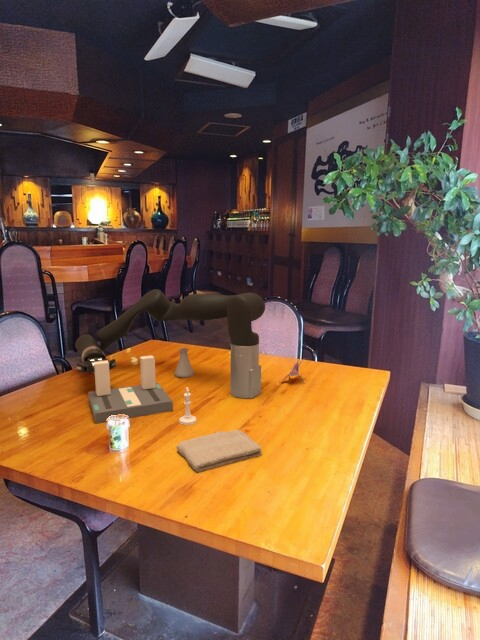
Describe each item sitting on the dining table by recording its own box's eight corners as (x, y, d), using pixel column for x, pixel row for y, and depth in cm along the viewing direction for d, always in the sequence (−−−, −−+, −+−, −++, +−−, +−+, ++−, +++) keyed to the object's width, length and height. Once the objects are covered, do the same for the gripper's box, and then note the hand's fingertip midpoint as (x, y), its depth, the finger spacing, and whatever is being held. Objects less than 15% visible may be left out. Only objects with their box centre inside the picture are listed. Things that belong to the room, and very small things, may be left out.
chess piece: (182, 426, 118) (181, 391, 116) (176, 419, 122) (175, 386, 121) (199, 422, 120) (198, 388, 118) (192, 416, 125) (192, 383, 123)
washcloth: (264, 456, 103) (264, 444, 103) (195, 476, 95) (195, 463, 94) (240, 436, 113) (240, 425, 113) (176, 452, 105) (175, 441, 104)
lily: (302, 378, 161) (291, 357, 161) (321, 375, 152) (309, 352, 152) (282, 393, 155) (270, 371, 155) (299, 390, 146) (287, 367, 146)
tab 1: (95, 392, 134) (93, 361, 132) (109, 391, 135) (107, 360, 133) (97, 396, 131) (95, 364, 129) (110, 394, 133) (108, 362, 131)
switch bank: (89, 401, 136) (88, 391, 135) (158, 391, 145) (157, 382, 144) (95, 423, 120) (95, 412, 119) (172, 410, 129) (172, 400, 128)
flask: (197, 374, 162) (197, 348, 160) (185, 379, 156) (184, 352, 154) (183, 371, 166) (182, 345, 164) (170, 376, 160) (169, 350, 158)
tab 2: (141, 386, 139) (139, 356, 137) (153, 384, 141) (152, 355, 139) (143, 389, 137) (141, 359, 135) (155, 387, 138) (154, 357, 136)
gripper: (113, 366, 155) (121, 381, 139) (74, 371, 149) (78, 387, 134) (112, 346, 153) (120, 358, 138) (72, 350, 148) (76, 363, 132)
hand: (99, 372), depth 136 cm, fingers closed
